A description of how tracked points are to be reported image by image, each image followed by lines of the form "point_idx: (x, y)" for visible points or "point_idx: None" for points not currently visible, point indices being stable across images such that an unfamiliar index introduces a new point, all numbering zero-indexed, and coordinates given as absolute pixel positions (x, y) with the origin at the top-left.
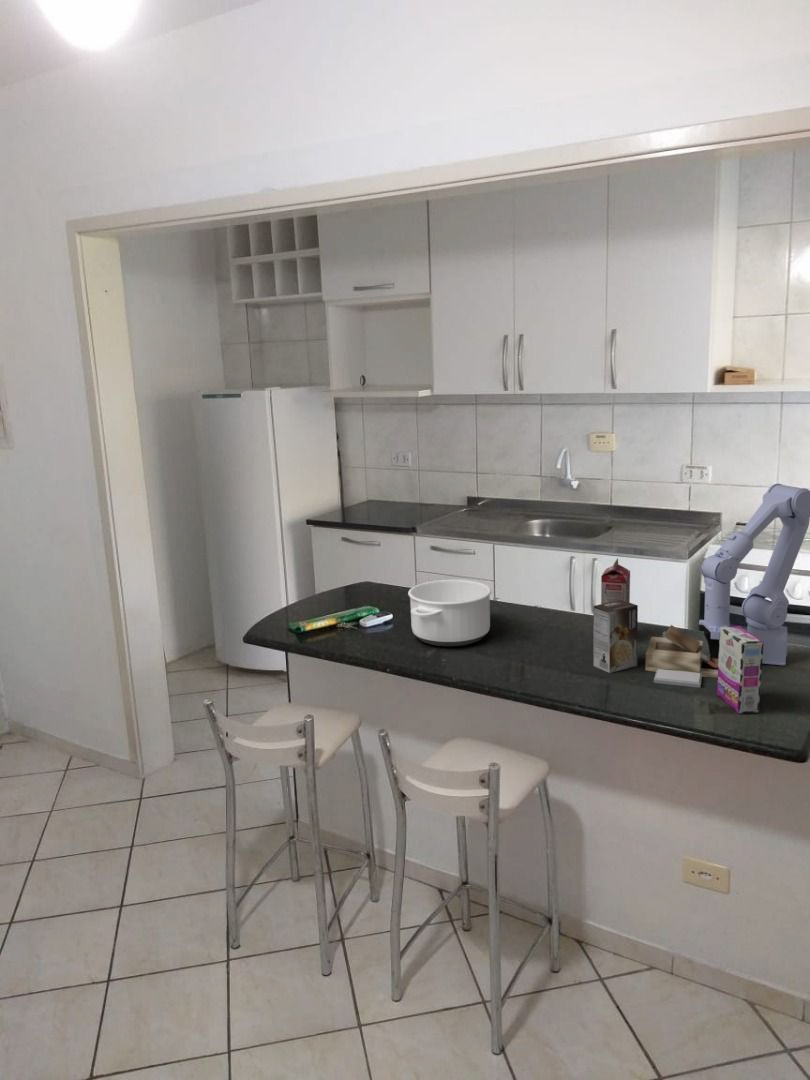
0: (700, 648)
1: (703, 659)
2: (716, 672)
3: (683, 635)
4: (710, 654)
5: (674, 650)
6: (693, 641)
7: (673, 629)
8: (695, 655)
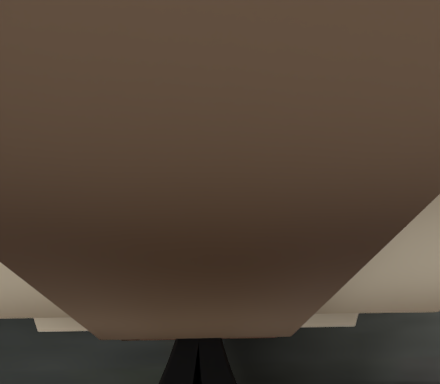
0: None
1: None
2: (57, 321)
3: (179, 259)
4: (173, 346)
5: None
6: (188, 320)
7: (141, 10)
8: (8, 282)
